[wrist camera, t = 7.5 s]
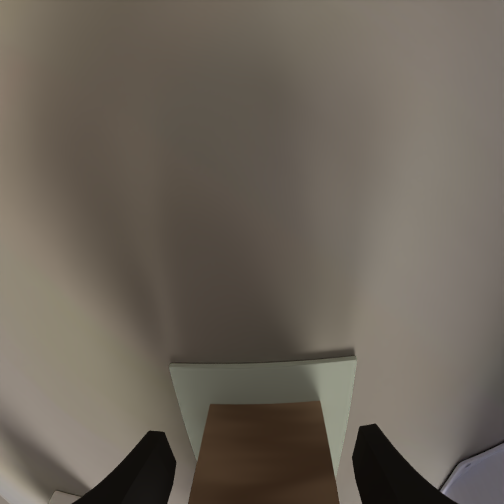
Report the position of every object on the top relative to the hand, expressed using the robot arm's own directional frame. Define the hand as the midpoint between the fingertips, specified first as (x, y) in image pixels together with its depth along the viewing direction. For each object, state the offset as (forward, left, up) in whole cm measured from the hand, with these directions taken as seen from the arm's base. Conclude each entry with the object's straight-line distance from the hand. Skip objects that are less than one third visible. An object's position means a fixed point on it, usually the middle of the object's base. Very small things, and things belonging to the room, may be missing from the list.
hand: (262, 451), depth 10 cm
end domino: (0, +1, -3) cm, 3 cm away
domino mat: (0, +11, -3) cm, 12 cm away
